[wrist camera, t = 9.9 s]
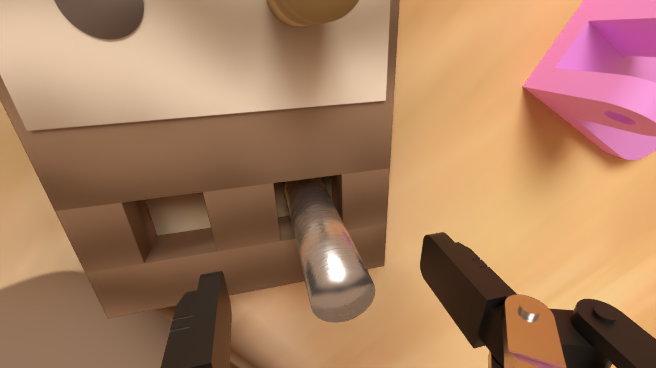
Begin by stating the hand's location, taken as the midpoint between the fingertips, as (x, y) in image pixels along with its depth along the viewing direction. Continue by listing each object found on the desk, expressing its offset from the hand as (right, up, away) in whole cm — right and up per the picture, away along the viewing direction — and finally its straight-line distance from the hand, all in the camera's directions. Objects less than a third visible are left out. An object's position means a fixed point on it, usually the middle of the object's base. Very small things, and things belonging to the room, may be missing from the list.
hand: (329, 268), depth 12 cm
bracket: (+19, +10, +9) cm, 23 cm away
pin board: (-5, +7, +4) cm, 10 cm away
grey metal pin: (-2, +3, +7) cm, 8 cm away
